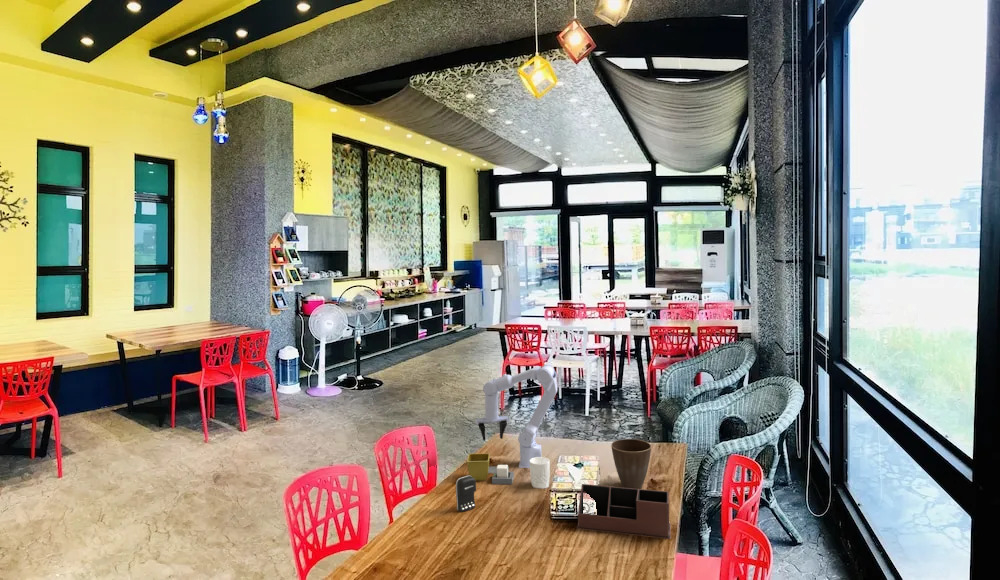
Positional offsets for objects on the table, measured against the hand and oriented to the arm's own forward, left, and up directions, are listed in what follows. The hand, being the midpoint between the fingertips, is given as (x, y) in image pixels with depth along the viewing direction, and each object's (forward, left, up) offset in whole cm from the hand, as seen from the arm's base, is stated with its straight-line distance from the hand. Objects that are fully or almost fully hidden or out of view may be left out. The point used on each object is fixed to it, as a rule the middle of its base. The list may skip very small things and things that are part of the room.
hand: (492, 439), depth 244 cm
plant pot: (-57, +24, -11) cm, 62 cm away
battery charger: (+3, +47, -11) cm, 48 cm away
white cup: (-22, +25, -11) cm, 34 cm away
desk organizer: (-50, +57, -11) cm, 76 cm away
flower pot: (+3, +19, -11) cm, 22 cm away
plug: (-7, +21, -11) cm, 24 cm away
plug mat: (-3, +9, -10) cm, 14 cm away
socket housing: (-7, +21, -11) cm, 24 cm away
